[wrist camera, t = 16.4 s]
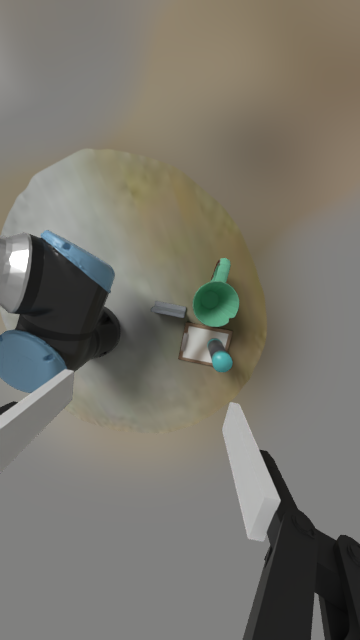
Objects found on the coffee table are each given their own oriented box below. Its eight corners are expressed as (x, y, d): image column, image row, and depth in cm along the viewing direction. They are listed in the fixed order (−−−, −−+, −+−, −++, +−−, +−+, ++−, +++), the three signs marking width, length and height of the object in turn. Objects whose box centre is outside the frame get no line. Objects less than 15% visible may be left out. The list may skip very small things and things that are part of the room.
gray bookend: (153, 311, 48) (149, 315, 43) (155, 300, 48) (151, 303, 42) (183, 317, 48) (183, 322, 43) (186, 306, 48) (186, 310, 42)
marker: (210, 335, 48) (217, 351, 37) (224, 341, 49) (235, 358, 38) (204, 348, 49) (209, 367, 38) (218, 354, 49) (227, 375, 39)
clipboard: (178, 358, 51) (178, 360, 50) (186, 321, 49) (186, 322, 47) (222, 367, 51) (223, 369, 50) (232, 331, 49) (233, 332, 47)
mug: (223, 321, 48) (232, 331, 39) (188, 314, 48) (188, 322, 38) (237, 266, 45) (251, 261, 35) (199, 258, 45) (203, 252, 35)
